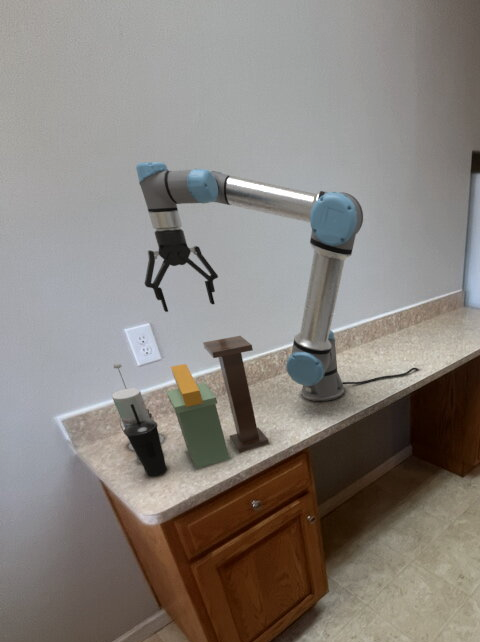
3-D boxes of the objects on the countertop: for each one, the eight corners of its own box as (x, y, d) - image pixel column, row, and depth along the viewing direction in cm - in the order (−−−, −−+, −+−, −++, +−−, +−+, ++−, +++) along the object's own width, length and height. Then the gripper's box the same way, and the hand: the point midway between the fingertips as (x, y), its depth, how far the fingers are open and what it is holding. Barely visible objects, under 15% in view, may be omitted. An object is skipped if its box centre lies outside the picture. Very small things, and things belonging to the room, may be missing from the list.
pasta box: (203, 403, 104) (199, 390, 102) (186, 407, 102) (182, 394, 100) (189, 375, 120) (185, 363, 118) (174, 378, 118) (170, 366, 117)
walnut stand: (271, 443, 123) (251, 344, 107) (237, 454, 119) (212, 352, 103) (260, 430, 130) (240, 335, 115) (227, 439, 126) (202, 342, 110)
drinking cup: (178, 464, 115) (155, 398, 105) (162, 480, 109) (137, 412, 98) (152, 463, 116) (126, 397, 105) (135, 479, 109) (106, 411, 99)
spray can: (133, 464, 115) (106, 399, 105) (144, 452, 121) (119, 388, 110) (157, 463, 116) (132, 398, 105) (166, 451, 121) (144, 387, 110)
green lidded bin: (232, 459, 117) (216, 397, 107) (194, 470, 112) (174, 407, 102) (220, 441, 125) (205, 382, 115) (185, 451, 121) (166, 391, 111)
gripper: (210, 225, 125) (227, 298, 136) (117, 232, 113) (143, 311, 125) (217, 226, 120) (233, 302, 131) (119, 233, 108) (147, 316, 119)
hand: (189, 307), depth 128 cm, fingers open, 13 cm apart
